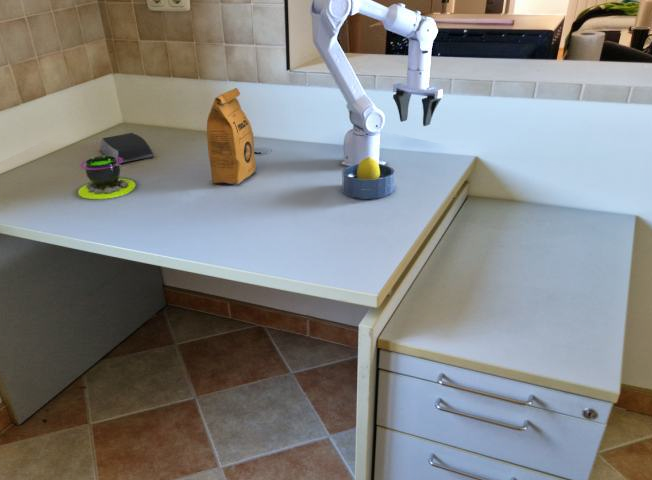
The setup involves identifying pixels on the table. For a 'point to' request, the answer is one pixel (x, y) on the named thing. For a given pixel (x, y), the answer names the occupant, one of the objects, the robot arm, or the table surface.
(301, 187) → the table surface
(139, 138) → the hard drive
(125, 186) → the toy cauldron
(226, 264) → the table surface
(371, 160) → the lemon
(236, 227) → the table surface
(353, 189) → the bowl
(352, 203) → the table surface
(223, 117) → the coffee package
